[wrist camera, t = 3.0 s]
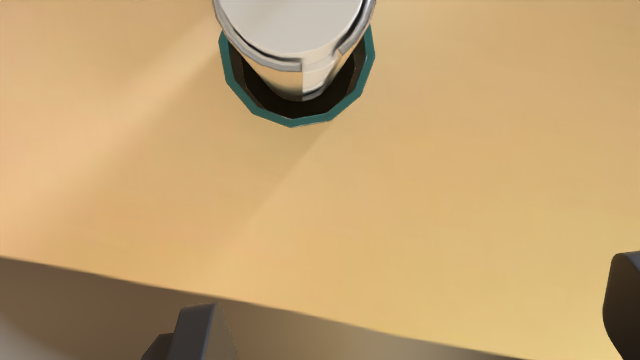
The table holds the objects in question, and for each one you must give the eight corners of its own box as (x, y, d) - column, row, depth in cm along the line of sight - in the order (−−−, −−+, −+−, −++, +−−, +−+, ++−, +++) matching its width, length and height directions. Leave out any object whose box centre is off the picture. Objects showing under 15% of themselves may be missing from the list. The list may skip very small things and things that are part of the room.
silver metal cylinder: (254, 94, 44) (192, 53, 19) (266, 17, 43) (217, -130, 18) (329, 107, 44) (365, 83, 19) (342, 30, 44) (396, -97, 19)
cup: (306, -29, 43) (306, -64, 35) (385, 71, 44) (403, 59, 36) (209, 54, 43) (188, 38, 35) (290, 150, 44) (288, 156, 36)
